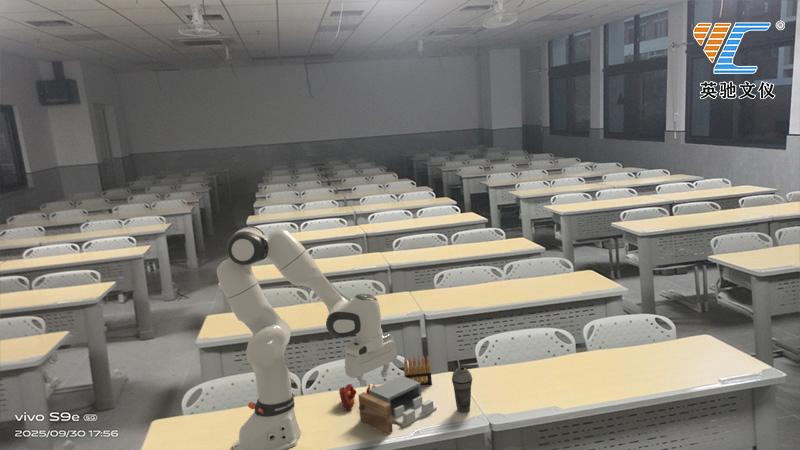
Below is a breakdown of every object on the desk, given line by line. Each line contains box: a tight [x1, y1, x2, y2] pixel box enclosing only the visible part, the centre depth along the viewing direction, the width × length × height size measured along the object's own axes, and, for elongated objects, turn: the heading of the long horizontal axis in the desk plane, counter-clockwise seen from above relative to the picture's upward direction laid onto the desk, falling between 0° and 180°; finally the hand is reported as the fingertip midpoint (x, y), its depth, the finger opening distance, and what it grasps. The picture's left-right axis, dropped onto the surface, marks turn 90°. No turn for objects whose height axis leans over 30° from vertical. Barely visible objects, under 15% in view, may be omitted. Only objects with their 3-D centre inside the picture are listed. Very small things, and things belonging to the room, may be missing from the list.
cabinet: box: [369, 375, 437, 427], centre depth 212 cm, size 16×18×8 cm
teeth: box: [338, 383, 379, 412], centre depth 220 cm, size 10×8×15 cm
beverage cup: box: [451, 355, 473, 414], centre depth 208 cm, size 7×7×20 cm
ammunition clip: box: [403, 355, 433, 387], centre depth 232 cm, size 11×2×12 cm, turn 96°
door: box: [358, 392, 394, 435], centre depth 201 cm, size 4×14×10 cm, turn 43°
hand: (374, 380), depth 200 cm, fingers open, 8 cm apart
